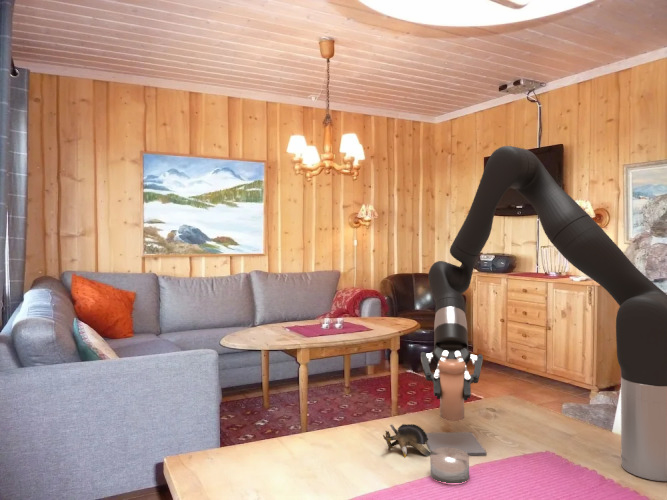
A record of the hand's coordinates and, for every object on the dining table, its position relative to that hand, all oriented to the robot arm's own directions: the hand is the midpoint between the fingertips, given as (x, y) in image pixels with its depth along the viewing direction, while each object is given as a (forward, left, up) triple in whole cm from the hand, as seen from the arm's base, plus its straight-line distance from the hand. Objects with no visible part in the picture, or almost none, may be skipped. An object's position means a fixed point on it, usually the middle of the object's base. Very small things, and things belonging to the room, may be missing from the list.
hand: (452, 397), depth 105 cm
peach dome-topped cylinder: (0, -2, -5) cm, 5 cm away
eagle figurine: (+10, +2, -11) cm, 15 cm away
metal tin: (+4, +12, -11) cm, 17 cm away
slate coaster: (0, -2, -11) cm, 11 cm away
